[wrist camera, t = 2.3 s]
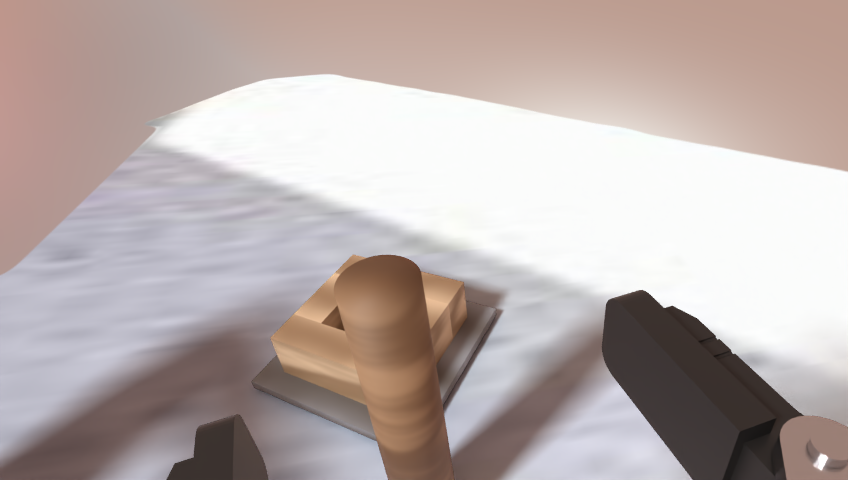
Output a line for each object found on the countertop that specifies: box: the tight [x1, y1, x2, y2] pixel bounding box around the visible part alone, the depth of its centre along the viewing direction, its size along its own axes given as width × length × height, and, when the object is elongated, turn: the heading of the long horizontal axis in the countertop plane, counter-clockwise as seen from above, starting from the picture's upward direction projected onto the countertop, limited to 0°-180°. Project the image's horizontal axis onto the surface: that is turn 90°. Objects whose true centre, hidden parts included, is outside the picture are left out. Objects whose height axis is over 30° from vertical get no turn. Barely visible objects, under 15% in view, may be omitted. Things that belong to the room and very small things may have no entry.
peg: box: [334, 255, 454, 480], centre depth 29 cm, size 4×4×20 cm
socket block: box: [252, 255, 496, 441], centre depth 46 cm, size 16×16×5 cm
